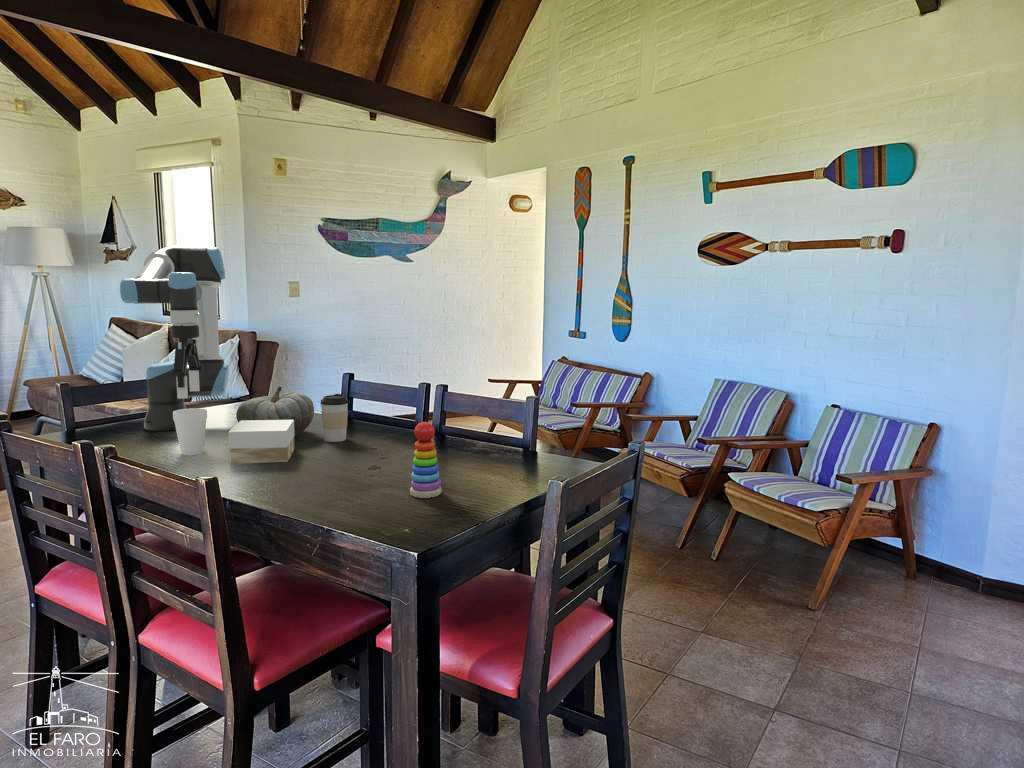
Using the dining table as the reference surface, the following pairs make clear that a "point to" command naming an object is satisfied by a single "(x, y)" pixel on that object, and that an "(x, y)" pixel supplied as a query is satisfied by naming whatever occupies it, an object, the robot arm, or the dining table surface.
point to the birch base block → (261, 454)
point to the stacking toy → (425, 464)
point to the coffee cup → (334, 417)
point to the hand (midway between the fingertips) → (188, 394)
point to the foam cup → (190, 430)
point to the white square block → (261, 434)
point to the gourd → (279, 409)
